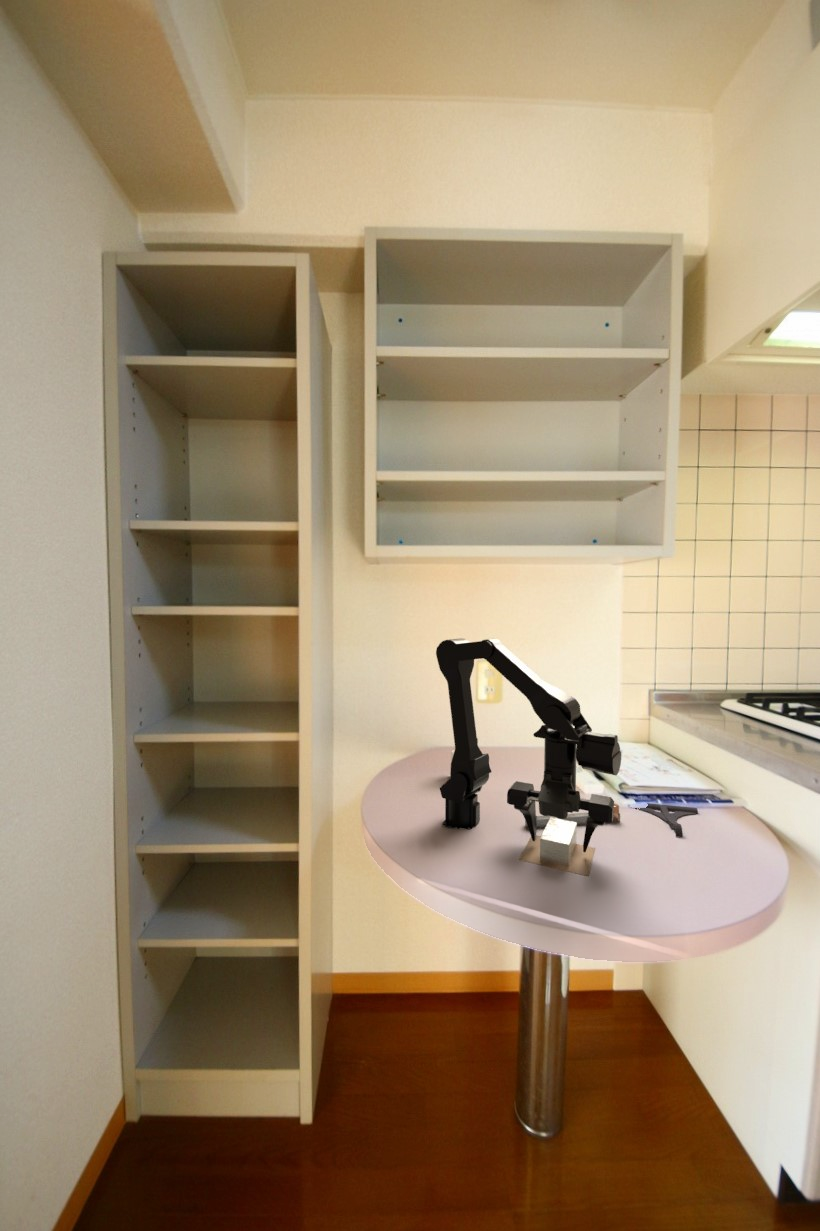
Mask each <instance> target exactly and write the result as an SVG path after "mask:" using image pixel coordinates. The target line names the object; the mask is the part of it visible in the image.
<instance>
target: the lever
mask: <svg viewBox="0 0 820 1231" xmlns="http://www.w3.org/2000/svg"><path fill="white" fill-rule="evenodd" d="M550 817H551V818H557V817H553V816H543V815H536V829H545V828H546V826H547V824H548V822H549V820H550ZM587 817H588V812H574V813H568V816H567V818H565V819H562V820H567V821H572V822H577V826H580V825H581V826H583V825H586V821H587ZM557 819H558V818H557ZM524 820H525V819H524ZM620 822H621V813H620V805H619V804H616V803H614V814H613V820H612V823H620ZM524 826H525V828H526V829H528V830H529V828H528V825H527V823H526V820H525V822H524Z"/></svg>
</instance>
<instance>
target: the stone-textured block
mask: <svg viewBox="0 0 820 1231" xmlns="http://www.w3.org/2000/svg"><path fill="white" fill-rule="evenodd" d="M577 829H578V825H577V822H572V821H567V820H562V819H557V818H551V817H550V820H549V822H548V824H547V826H546V827H545V828H544V830H543V832H542V834H541V838H540V860H541V861H545V862H549V863H554V864H558V865H562V866H566V867H569V864H570V861H571V858H572V855H573V852H574V849H575V846H576V844H578V843H577V842H578V841H577V838H578V837H577V836H578V835H577V834H578V832H577V831H578V830H577Z"/></svg>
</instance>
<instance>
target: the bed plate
mask: <svg viewBox="0 0 820 1231" xmlns="http://www.w3.org/2000/svg"><path fill="white" fill-rule="evenodd" d="M541 836H542V835H541ZM541 836H540V835H537V834H536V840H535V841H533V840H532V837H531V836H530V838H529V840H528V841H527V843H526V845H525V847H524V849H523V850H522V852H521V854H520V856H519V858H518V860H519V861H521V862H522V861H523V862H527V863H530V864H535V865H538V866H543V867H548V868H551V869H556V870H560V871H564V872H567V873H573V874H577V875H581V876H584V877H589V875H590V871H591V868H592V862H593V860H594V857H595V856H594V855H595V851H596V847H592V846H589V845H588V847H587V850H586V852H583V844H579V843H576V846H575V849H574V852H573V855H572V858H571V861H570V864H569V867H566V866H562V865H558V864H554V863H549V862H545V861H541V860H540V838H541Z"/></svg>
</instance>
